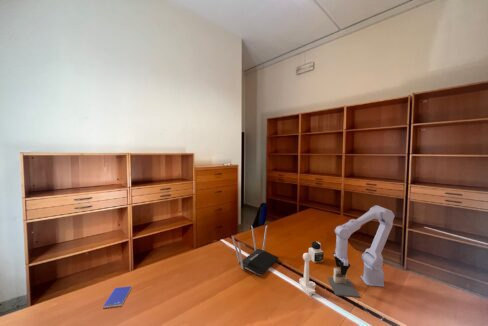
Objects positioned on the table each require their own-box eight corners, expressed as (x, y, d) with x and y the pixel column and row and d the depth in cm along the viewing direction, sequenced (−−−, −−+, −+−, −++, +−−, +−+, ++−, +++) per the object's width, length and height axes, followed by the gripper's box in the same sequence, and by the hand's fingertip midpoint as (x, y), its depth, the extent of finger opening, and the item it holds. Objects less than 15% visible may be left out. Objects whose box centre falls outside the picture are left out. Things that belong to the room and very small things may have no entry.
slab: (344, 280, 115) (344, 268, 115) (346, 283, 112) (346, 271, 112) (333, 279, 116) (333, 267, 115) (335, 282, 113) (335, 270, 112)
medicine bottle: (314, 263, 133) (314, 245, 133) (308, 257, 140) (308, 241, 139) (323, 261, 135) (324, 244, 135) (316, 256, 142) (317, 239, 141)
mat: (348, 279, 116) (348, 278, 116) (360, 297, 103) (360, 296, 103) (327, 278, 118) (327, 277, 118) (335, 295, 104) (335, 294, 104)
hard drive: (121, 303, 96) (131, 286, 108) (102, 305, 94) (114, 287, 106) (121, 306, 96) (131, 288, 108) (102, 308, 94) (114, 290, 106)
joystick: (297, 282, 114) (298, 248, 113) (309, 280, 115) (310, 247, 114) (307, 296, 103) (308, 259, 102) (320, 294, 105) (322, 257, 103)
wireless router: (255, 282, 113) (256, 248, 112) (225, 267, 127) (225, 237, 126) (282, 257, 140) (283, 229, 138) (255, 247, 154) (255, 222, 152)
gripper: (330, 241, 120) (329, 262, 121) (338, 253, 106) (337, 278, 107) (342, 242, 120) (341, 263, 121) (352, 254, 105) (351, 279, 106)
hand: (340, 270), depth 114 cm, fingers open, 7 cm apart
